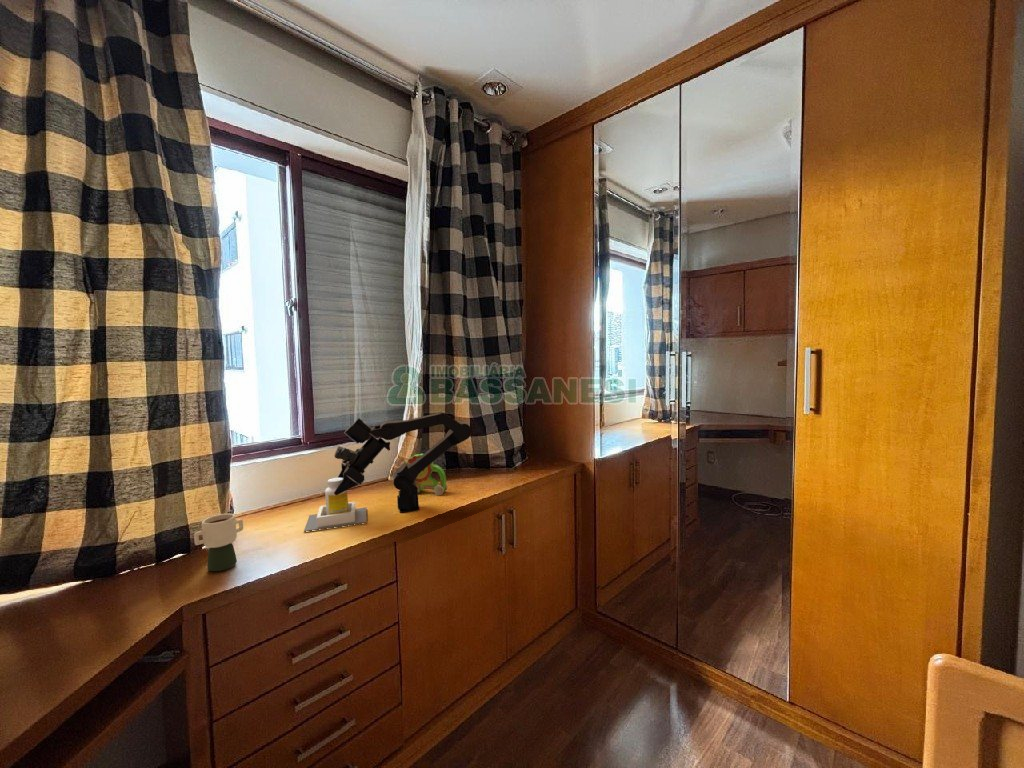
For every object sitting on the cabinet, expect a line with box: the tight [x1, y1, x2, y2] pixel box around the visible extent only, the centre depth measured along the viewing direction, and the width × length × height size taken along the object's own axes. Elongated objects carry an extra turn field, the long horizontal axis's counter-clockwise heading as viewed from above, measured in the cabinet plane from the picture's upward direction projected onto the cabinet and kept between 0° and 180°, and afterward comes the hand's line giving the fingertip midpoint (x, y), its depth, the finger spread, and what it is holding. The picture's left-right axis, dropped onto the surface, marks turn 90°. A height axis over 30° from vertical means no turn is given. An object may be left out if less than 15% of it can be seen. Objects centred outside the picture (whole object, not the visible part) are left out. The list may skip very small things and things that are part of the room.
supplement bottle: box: [324, 477, 349, 515], centre depth 139 cm, size 7×7×13 cm
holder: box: [303, 501, 367, 532], centre depth 139 cm, size 18×14×4 cm
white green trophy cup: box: [193, 513, 244, 572], centre depth 108 cm, size 11×7×13 cm, turn 145°
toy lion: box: [405, 453, 448, 496], centre depth 164 cm, size 16×5×15 cm, turn 76°
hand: (334, 490), depth 138 cm, fingers open, 9 cm apart
